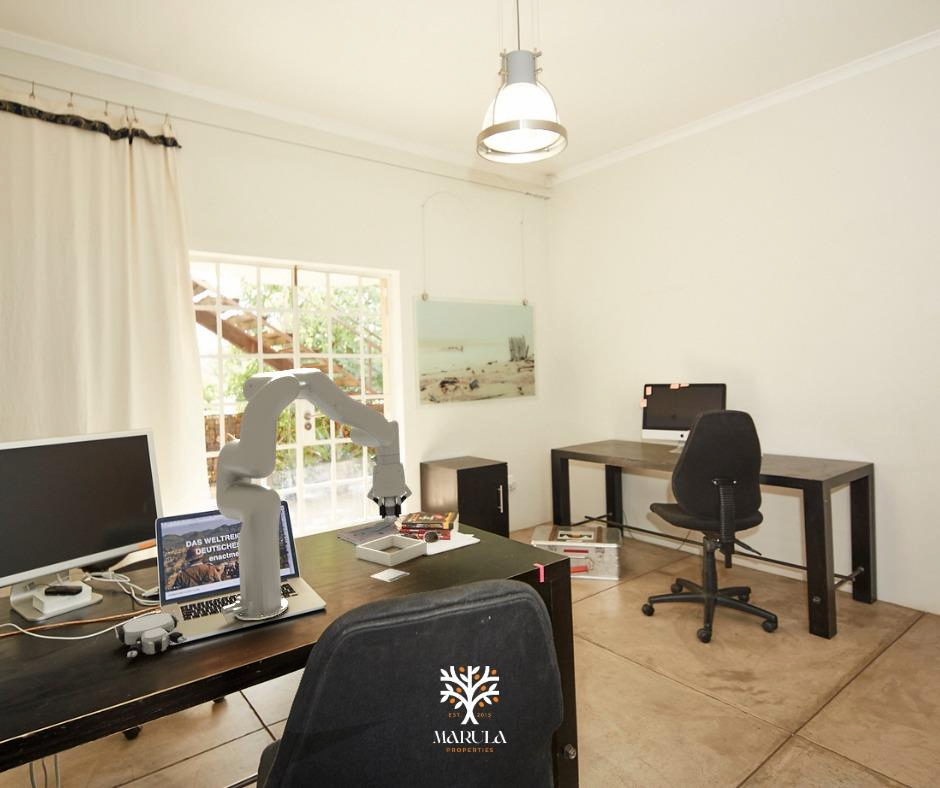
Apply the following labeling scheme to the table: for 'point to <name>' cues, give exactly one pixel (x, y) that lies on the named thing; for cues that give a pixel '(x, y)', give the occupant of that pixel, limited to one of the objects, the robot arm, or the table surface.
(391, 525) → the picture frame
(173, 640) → the robot toy
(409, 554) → the tub
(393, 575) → the plate
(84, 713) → the table surface
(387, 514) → the clear bottle
